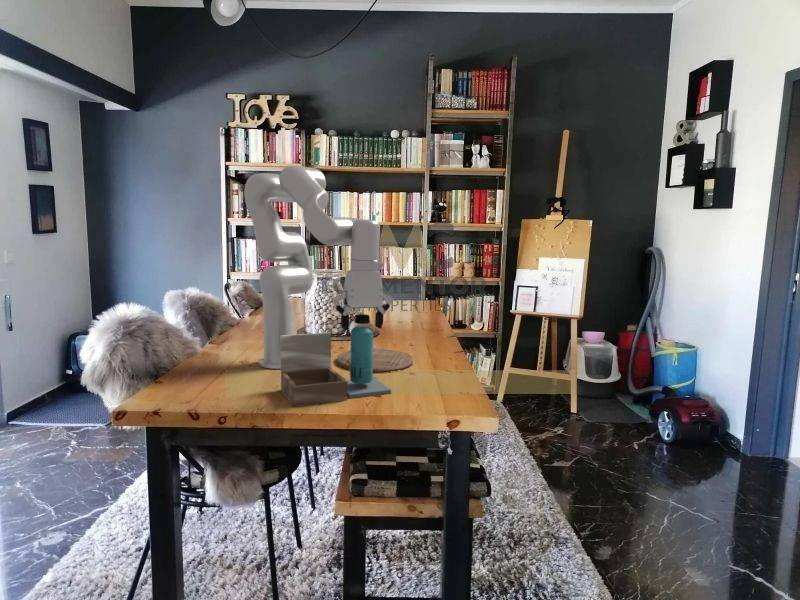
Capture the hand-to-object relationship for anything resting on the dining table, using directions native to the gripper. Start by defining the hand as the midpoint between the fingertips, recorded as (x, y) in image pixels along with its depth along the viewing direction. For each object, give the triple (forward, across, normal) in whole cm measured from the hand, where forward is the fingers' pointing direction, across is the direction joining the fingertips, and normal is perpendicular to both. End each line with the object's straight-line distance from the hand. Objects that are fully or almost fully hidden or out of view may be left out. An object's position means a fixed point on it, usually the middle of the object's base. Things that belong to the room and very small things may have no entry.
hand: (362, 328), depth 143 cm
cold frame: (+17, +14, +1) cm, 22 cm away
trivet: (+18, -14, -24) cm, 34 cm away
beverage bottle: (+16, 0, +1) cm, 16 cm away
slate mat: (+17, 0, +1) cm, 17 cm away
